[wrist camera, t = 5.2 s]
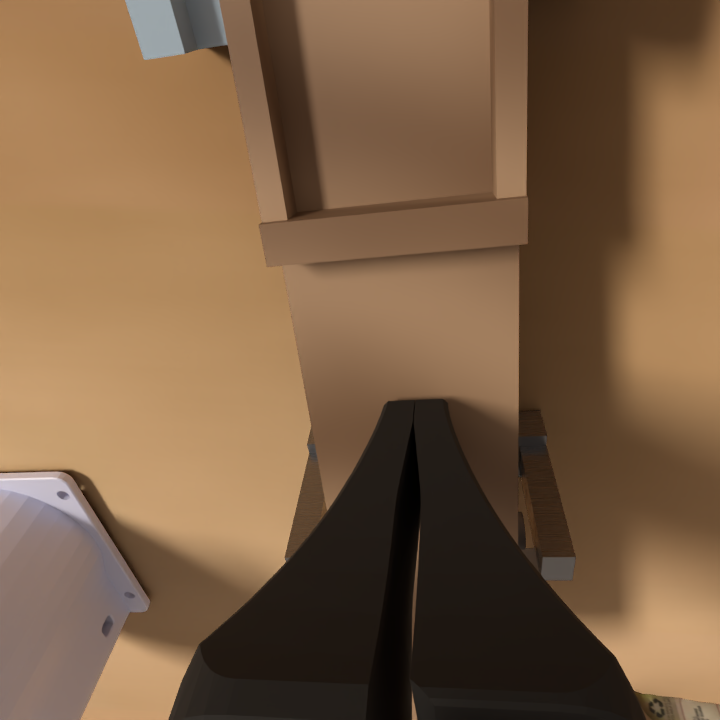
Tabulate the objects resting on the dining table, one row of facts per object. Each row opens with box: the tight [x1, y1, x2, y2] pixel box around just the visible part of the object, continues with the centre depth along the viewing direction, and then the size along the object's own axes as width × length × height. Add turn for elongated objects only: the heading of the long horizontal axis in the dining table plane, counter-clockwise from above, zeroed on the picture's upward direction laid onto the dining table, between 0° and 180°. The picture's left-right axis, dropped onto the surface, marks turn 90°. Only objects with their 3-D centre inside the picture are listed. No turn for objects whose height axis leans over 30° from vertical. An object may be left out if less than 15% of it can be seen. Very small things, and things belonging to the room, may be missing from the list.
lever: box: [219, 0, 539, 720], centre depth 14 cm, size 22×7×4 cm, turn 8°
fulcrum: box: [285, 410, 576, 580], centre depth 17 cm, size 2×8×5 cm, turn 98°
